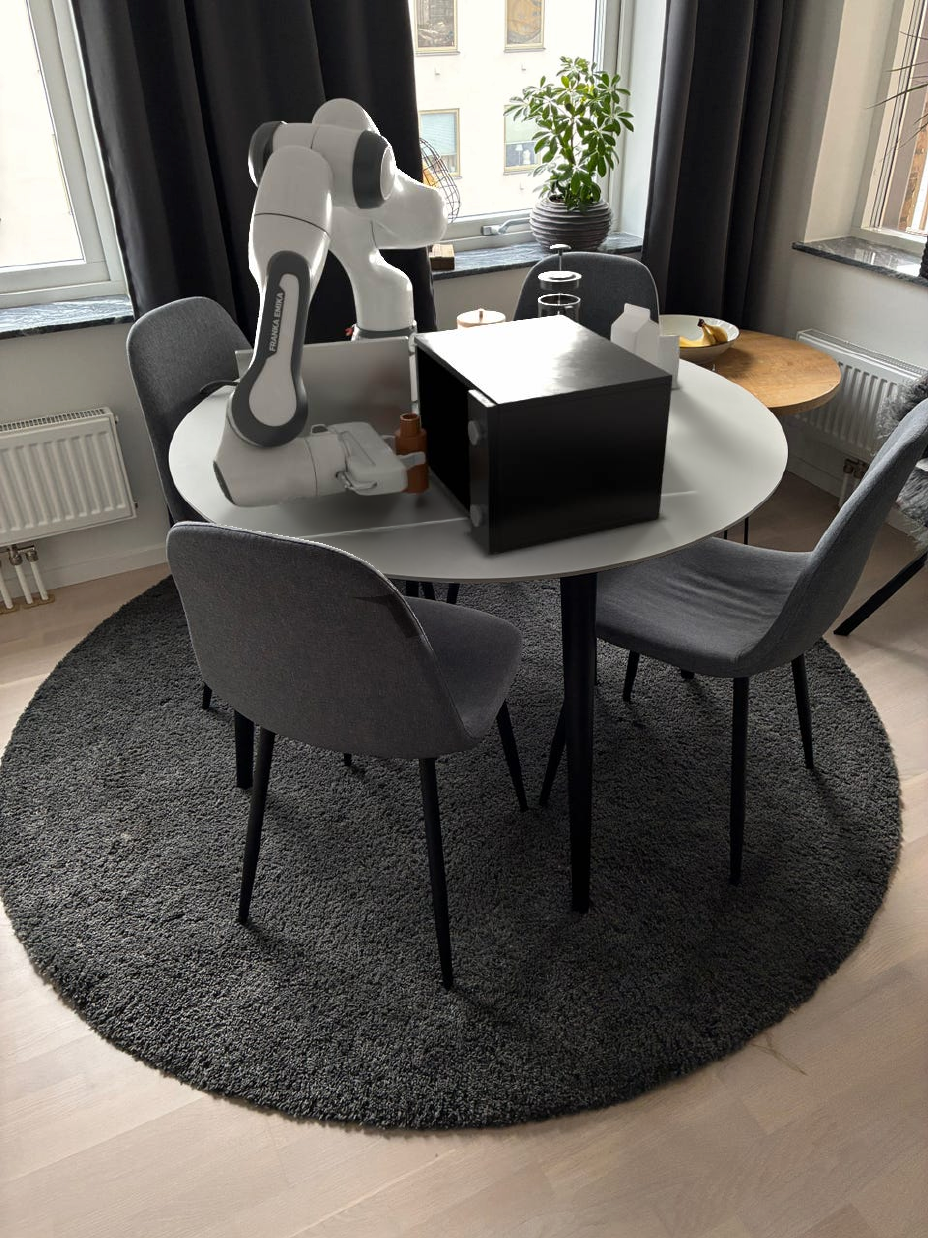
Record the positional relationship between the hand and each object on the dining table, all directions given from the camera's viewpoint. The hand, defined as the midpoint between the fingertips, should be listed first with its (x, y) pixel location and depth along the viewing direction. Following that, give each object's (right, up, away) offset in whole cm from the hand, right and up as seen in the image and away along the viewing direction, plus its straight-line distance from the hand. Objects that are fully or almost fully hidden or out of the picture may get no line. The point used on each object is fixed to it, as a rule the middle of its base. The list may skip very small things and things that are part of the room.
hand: (417, 448), depth 142 cm
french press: (+28, +33, +66) cm, 79 cm away
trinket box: (+11, +34, +69) cm, 78 cm away
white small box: (+46, +21, +47) cm, 70 cm away
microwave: (+17, -5, +7) cm, 19 cm away
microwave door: (-15, 0, +17) cm, 23 cm away
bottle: (-1, -5, +3) cm, 6 cm away
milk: (+37, +8, +28) cm, 47 cm away
